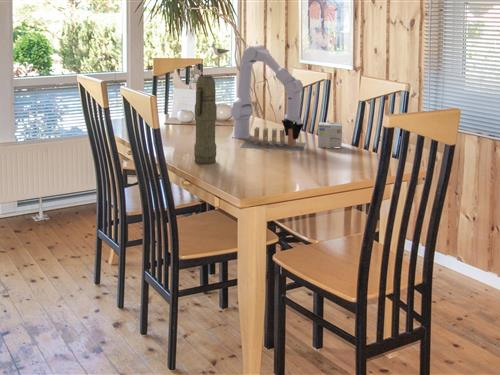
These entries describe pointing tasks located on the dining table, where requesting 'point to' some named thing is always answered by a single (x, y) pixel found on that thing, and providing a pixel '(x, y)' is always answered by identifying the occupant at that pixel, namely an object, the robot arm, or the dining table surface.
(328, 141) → the light bulb box
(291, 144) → the domino
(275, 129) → the domino
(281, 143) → the domino
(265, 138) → the domino
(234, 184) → the dining table surface
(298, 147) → the rubber mat
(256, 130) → the domino
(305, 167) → the dining table surface
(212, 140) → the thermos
